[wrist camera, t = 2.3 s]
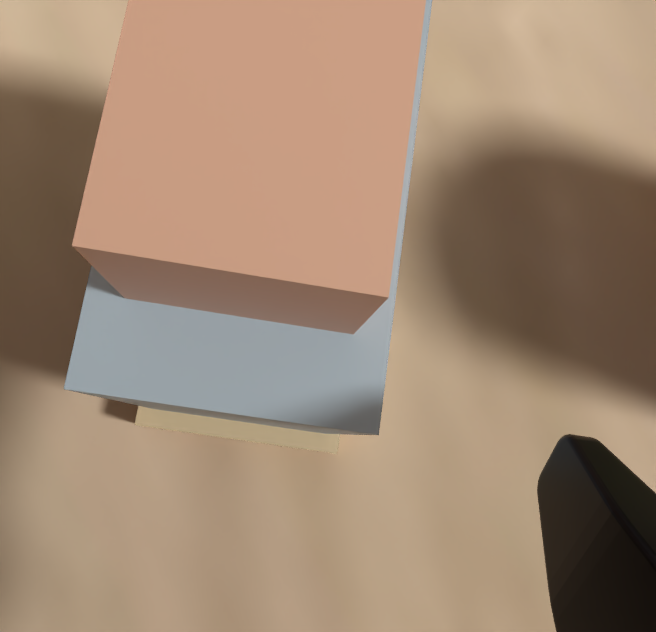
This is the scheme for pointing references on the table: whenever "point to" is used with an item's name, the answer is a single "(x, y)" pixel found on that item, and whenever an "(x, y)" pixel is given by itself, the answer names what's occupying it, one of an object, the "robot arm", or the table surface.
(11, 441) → the table surface
